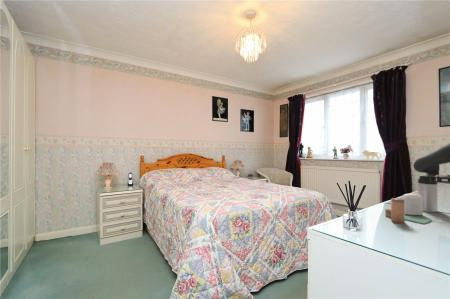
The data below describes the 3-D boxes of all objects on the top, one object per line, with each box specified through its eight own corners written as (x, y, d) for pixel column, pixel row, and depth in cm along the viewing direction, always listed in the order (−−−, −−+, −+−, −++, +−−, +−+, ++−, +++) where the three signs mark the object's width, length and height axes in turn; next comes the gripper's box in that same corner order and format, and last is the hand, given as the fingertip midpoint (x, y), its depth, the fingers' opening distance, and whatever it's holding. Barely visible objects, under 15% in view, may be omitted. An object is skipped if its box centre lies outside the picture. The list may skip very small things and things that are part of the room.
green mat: (408, 216, 126) (408, 215, 126) (431, 221, 118) (431, 220, 118) (400, 219, 121) (400, 218, 121) (423, 224, 113) (423, 223, 113)
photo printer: (418, 213, 132) (418, 193, 132) (424, 215, 128) (424, 194, 128) (400, 213, 133) (400, 192, 133) (405, 215, 129) (405, 194, 129)
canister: (394, 219, 120) (394, 197, 121) (406, 222, 116) (406, 199, 116) (389, 221, 118) (389, 198, 118) (401, 224, 113) (401, 201, 113)
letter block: (388, 215, 129) (388, 208, 129) (396, 217, 125) (396, 209, 125) (385, 216, 127) (385, 209, 127) (393, 218, 123) (393, 210, 124)
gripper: (477, 171, 96) (429, 169, 111) (466, 172, 90) (416, 170, 104) (478, 188, 96) (430, 184, 110) (467, 190, 89) (417, 186, 104)
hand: (423, 177), depth 107 cm, fingers open, 8 cm apart
